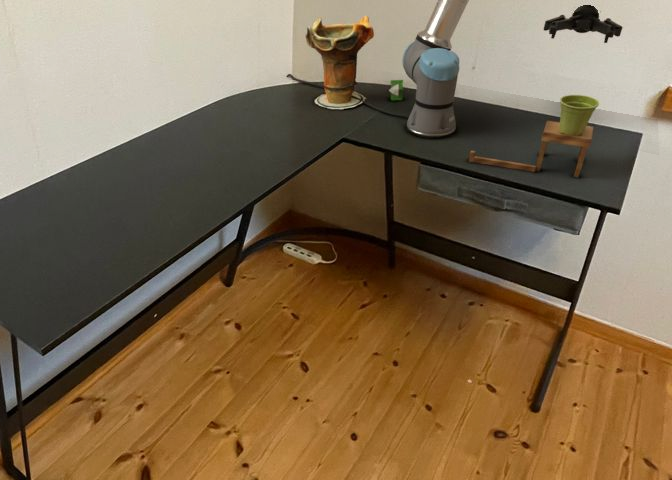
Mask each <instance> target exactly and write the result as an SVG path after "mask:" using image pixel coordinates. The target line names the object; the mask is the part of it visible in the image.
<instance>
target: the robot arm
mask: <svg viewBox="0 0 672 480" xmlns="http://www.w3.org/2000/svg"><path fill="white" fill-rule="evenodd" d="M469 1H470V0H437V2H436V4H435V6H434V8H433V11H432V13H431V15H430V17H429V19H428V22H427V24H426V26H425V28H424V30H421V31H419V32H417V35H416V37H415V39H414V41H411V42H410V44H408V46H407V47H405V50H404V52H403V54H402V60H401V61H402V67H403V70H404V72H405V74H406V75H407V77H408V78H409V79H410V80H412V82H413V83H414V84H415V85H416V90H415V99H414V105H413V107H412V110H411V112H410V114H407V113H399V112H392V111H390V110H385V109H384V108H380V107H377V106H375V105H373V104H371V103H370V102H368V101H366V100H365V101H363V100H361V99H359V98H357V97H355V96H351V97H352V98H355V99H357V100H360V101H362V103H361V104H364V105H366V106H368V107H370V108H372V109H374V110H376V111H377V112H378V111H379V112H381V113H384V114H387V115H391V116H395V117H403V118H407V122H406V131H407V132H409V133H410V134H411V135H413V136H415V137H419V138H424V139H425V138H426V139H443V138H447V137H450V136H452V135H454V134H455V132H456V129H457V128H456V127H457V122H456V116H455V111H454V110H455V109H454V102H455V96H456V89H457V82H458V79H459V78H458V77H459V72H460V57H459V56H458V54H457V53H456V52H455V51H453V50H452V48H453V46H452V42H451V39H452V37H453V35H454V33H455V30H456V29H457V26H458V24H459V23H460V21H461V18H462V16H463V14H464V12H465V10H466V7H467V5H468V4H469ZM573 11H574V10H573ZM565 30H568V31H574V32H576V33H578V34H587V33H589V32H591V33H595V32H597V33H598V34H599V33H600V34H602V35H604V41H603V43H604V44H608V41H609V38H610V39H611V38H614V36H615V37H617V38H618V37H620V36H621V34H622V31H623V26H622V25H621V24H618V23H616V22H615V21H613V20H612V19H611V18H610V17H607V18H605V19H603V20H601V19H600V16H599V13H598V10H597V9H596V8H595V7H594V6H591V5H583V6H580V7H578V8H577V9H576V10H575V11H574V13H573V12H572V14H571V16H570V17H568V18H567V17H566V16H565V15H564V14H561V15H559V16H556V17H553V18H550V19H547V20H545V21H544V25H543V31H548V34H549V35H551V36H550V39H553V40H554V39H555V37H556V35H557V32H558V31H559V32H560V31H565ZM289 77H290V78H291V79H292V80H293V81H295V82H297V83H302V84H305V85H310V86H312V87H313V86H314V87H317V88H321V89H324V86H323V84H320V83H319V84H318V83H315V82H311V81H307V80H303V79H298V78H297V77H294V76H293V75H292V74H291V73H288V74H287V75H286V78H289Z"/></svg>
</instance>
